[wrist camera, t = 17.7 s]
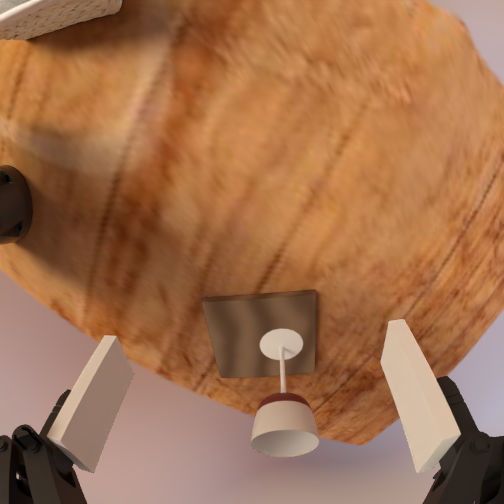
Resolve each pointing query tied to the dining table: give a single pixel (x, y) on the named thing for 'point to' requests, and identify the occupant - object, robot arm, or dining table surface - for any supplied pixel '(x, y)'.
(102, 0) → the storage basket
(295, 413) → the wineglass
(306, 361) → the walnut board
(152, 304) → the dining table surface
